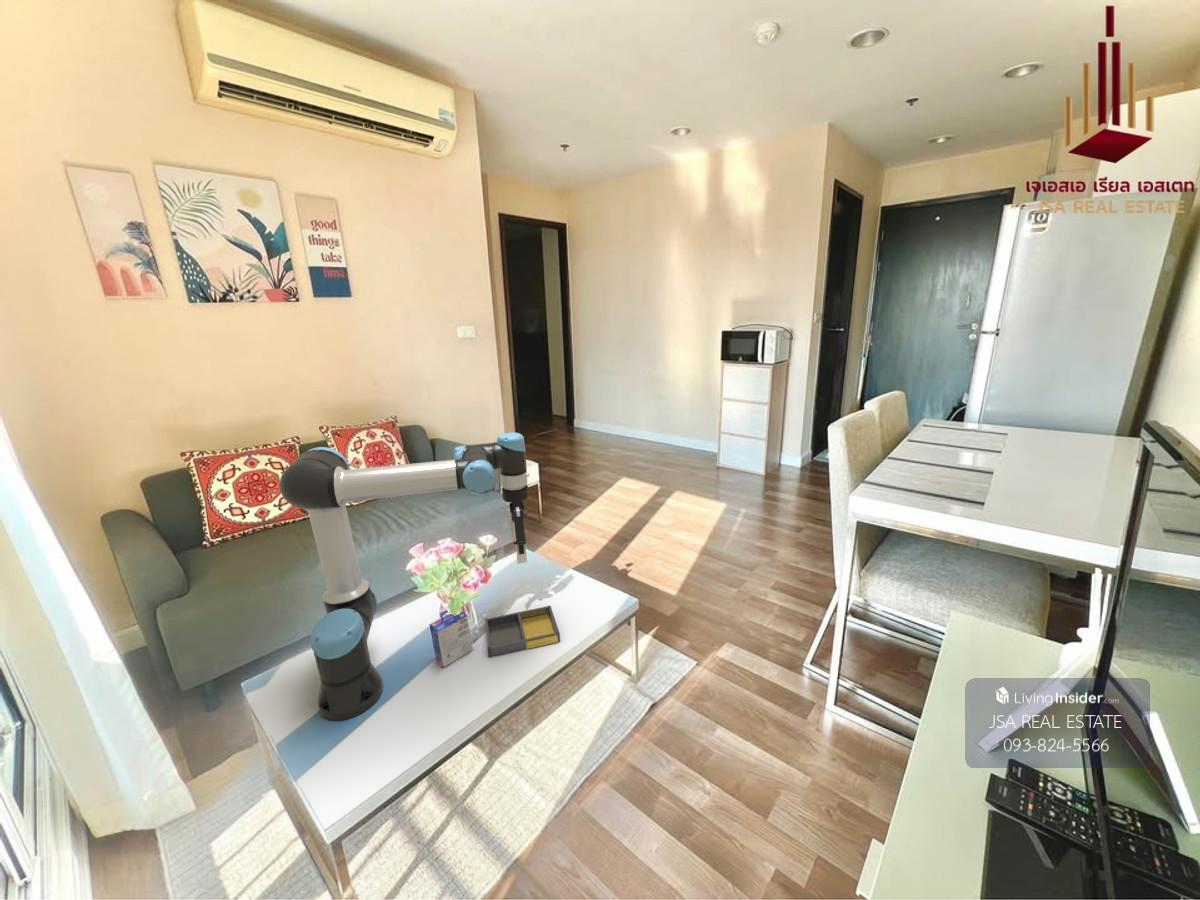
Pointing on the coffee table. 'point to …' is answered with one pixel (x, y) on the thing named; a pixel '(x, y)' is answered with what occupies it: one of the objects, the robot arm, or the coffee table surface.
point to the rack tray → (521, 631)
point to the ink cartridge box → (450, 637)
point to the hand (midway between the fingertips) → (520, 551)
